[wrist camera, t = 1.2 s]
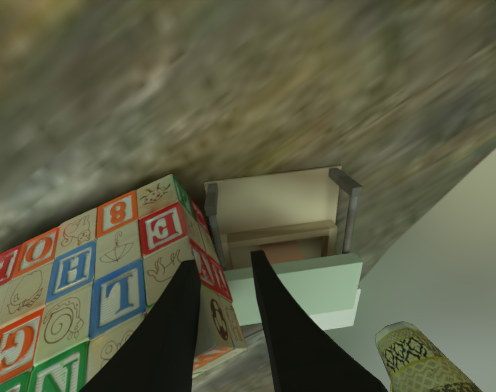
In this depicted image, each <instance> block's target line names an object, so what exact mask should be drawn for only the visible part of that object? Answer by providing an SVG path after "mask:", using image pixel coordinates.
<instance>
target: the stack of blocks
mask: <svg viewBox="0 0 496 392" xmlns="http://www.w3.org/2000/svg"><path fill="white" fill-rule="evenodd" d="M193 259H195V262H196V266H197V269H198V272H199V276H200V279H201V291H200V311H199V324H198V336H197V342H196V349H195V355H194V364H193V375H192V379H193V378H195V377H196V376H198V375H200V374H202V373H203V372H204V371H206V370H209V369H211V368H213V367H215V366H217V365H219V364H221V363H222V362H224V361H226V360H228V359H230V358H232V357H234V356H236V355H238V354H239V353H241V352H243V351H245V350H246V349H247V346H246V343H245V340H244V337H243V334H242V331H241V328H240V325H239V323H238V320H237V317H236V314H235V311H234V308H233V306H232V303H233V299H232V296H231V293H230V290H229V287H228V284H227V281H226V278H225V275H224V273H223V270H222V267H221V266H220V263H219V260H218V257H217V254H216V252H215V249H214V246H213V243H212V241H211V238H210V234H209V231H208V228H207V225H206V222H205V219H204V216H203V213H202V212H201V210H200V209H199V208H198V206H197V205H196V204H195V202H194V201H193V200H192V199H191V197H190V196H188V194H187V193H186V192H185V190H184V189H183V188H182V186H181V185H180V184H179V182H178V181H177V180H176V178H175V177H174V176H173V175H172V174H170V175H167V176H165V177H163V178H161V179H159V180H157V181H154V182H152V183H150V184H148V185H146V186H143V187H141V188H139V189H138V190H133V191H131V192H128V193H126V194H124V195H122V196H120V197H117V198H115V199H113V200H111V201H109V202H107V203H105V204H103V205H101V206H99V207H97V208H94V209H91V210H89V211H87V212H85V213H83V214H81V215H78V216H76V217H74V218H72V219H70V220H68V221H65V222H64V223H62V224H61V225H60V226H58V227H55V228H53V229H52V230H50V231H47V232H46V233H43V234H41V235H39V236H37V237H34V238H32V239H30V240H28V241H26V242H24V243H23V244H21V245H18V246H16V247H14V248H12V249H10V250H7V251H5V252H3V253H1V254H0V392H79V390H80V389H81V388H82V387H83V386H84V385H85V384H86V383H87V382H88V381H89V380H90V379H91V378H92V377H93V376H94V375H95V374H96V373H97V372H98V371H99V370H100V369H101V368H102V367H103V366H104V365H105V364H106V363H107V362H108V361H109V360H110V359H111V358H112V356H113V355H114V354H115V353H116V352H117V351H118V350H119V349H120V347H121V346H122V345H123V344H124V343H125V342H126V341H127V339H128V338H129V337H130V336H131V335H132V333H133V332H134V331H135V330H136V328H137V327H138V326H139V325H140V323H141V322H142V321H143V320H144V318H145V317H146V315H147V314H148V313H149V311H150V310H151V309H152V307H153V306H154V304H155V303H156V302H157V300H158V299H159V297H160V296H161V294H162V293H163V291H164V290H165V288H166V287H167V285H168V283H169V282H170V280H171V279H172V277H173V275H174V274H175V272H176V270H177V269H178V267H179V265H180V264H181V262H182V261H185V260H193Z"/></svg>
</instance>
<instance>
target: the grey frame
mask: <svg viewBox="0 0 496 392" xmlns="http://www.w3.org/2000/svg"><path fill="white" fill-rule="evenodd" d="M339 186H340V187H341V188H342V189H343V190H344V191H345V192H346V193H347V194H348V195H350V200H349V207H348V214H347V221H346V228H345V236H344V243H343V250H342V254H348V253H349V252H350V246H351V239H352V233H353V227H354V221H355V215H356V209H357V202H358V196H361V195H362V190H363V186H361V185H360V184H359V183H357V182H356V181H355V180H353V179H352V178H351V177H349V176H348V175H347V174H345V173H344V172H342V171H341V165H336V166H329V167H321V168H313V169H305V170H297V171H289V172H281V173H273V174H265V175H257V176H249V177H241V178H233V179H225V180H217V181H209V182H204V187H205V192H206V200H205V205H204V209H205V213H206V216H208V218H209V222H210V227H211V232H212V236H213V241H214V245H215V250H216V254H217V257H218V260H219V263H220V266H221V267H222V270H223V271H228V270H235V269H242V268H249V267H252V262H251V254H250V251H257V250H259V245H262V244H269V243H276V242H284V241H291V240H296V242H297V244H298V247H299V249H300V251H301V253H302V256H303V258H304V260H305V259H312V258H320V257H327V256H334V253H335V245H336V236H337V227H336V225H335V220H336V211H337V202H338V193H339Z"/></svg>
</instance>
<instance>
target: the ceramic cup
mask: <svg viewBox="0 0 496 392" xmlns="http://www.w3.org/2000/svg"><path fill="white" fill-rule="evenodd" d="M375 342H376V346H377V349H378V351H379V353H380V356H381V358H382V360H383V363H384V365H385V368H386V370H387V373H388V375H389V378H390V380H391V384H390V392H482V391H481V390H480V389H479V388H478V387H477V386H476V385H475V384H474V383H473V382H472V381H471V380H470V379H469V378H468V377H467V376H466V375H465V374H464V373H463V372H462V371H461V370H460V369H459V368H458V367H457V366H455V365H454V364H453V363H452V362H451V361H450V360H449V359H448V358H447V357H446V356H445V355H444V354H443V353H442V352H441V351H440V350H439V349H438V348H437V347H436V346H435V345H434V344H433V343H432V342H431V341H430V340H428V339H427V337H426V336H425V335H424V334H422V332H421V331H419V330H418V329H417V328H416V327H415V326H414V325H413V324H410V323H407V322H403V321H402V322H398V323H394V324H391V325H388V326H385V327H384V328H383V329H382V330H381V331H379V332H378V333H377V334H376V335H375Z"/></svg>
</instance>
